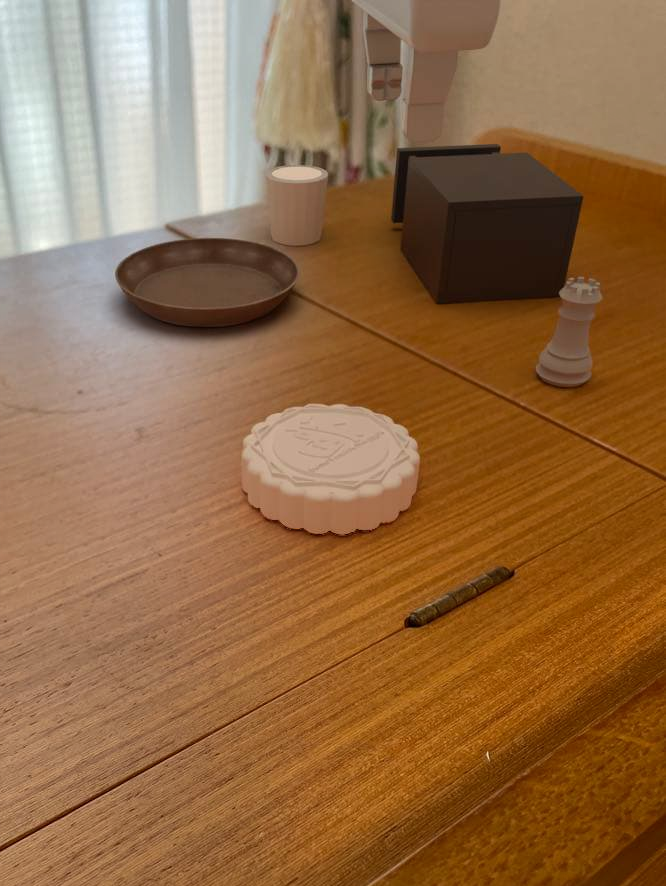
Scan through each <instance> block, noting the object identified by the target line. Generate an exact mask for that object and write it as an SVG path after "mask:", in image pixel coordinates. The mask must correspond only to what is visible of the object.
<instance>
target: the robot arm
mask: <svg viewBox="0 0 666 886" xmlns="http://www.w3.org/2000/svg"><path fill="white" fill-rule="evenodd" d="M350 1H351V2H352V3H353V4H354V5H357V6H358V7H359V8H360V9H362V10H363V11H362V12H363V14H362V15H363V16H362V30H363V37H364V46H365V55H366V63H367V77H366V90H367V94H369V95H370V97H371V98H372V99H373V100H375V101H377V102H383V101H395V100H397V99H398V98H399V97H400V96H401V94H402V81H403V71H404V70H403V69H404V66H403V65H402V64H401V47H402V45H401V44H402V43H401V42H404V43H405V44H407V45H406V46H407V47H406V66H408V72H407V81H406V91H405V98H402V100H401V120H400V129H401V132H402V134H403V135H404V137H405V138H406V139H407V141H410V142H411V143H413V144H414V143H428V142H430V143H431V142H435V141H437V140H438V139H439V138H440V137H441V134H442V132H443V121H444V111H445V103H446V100H447V98H448V94H449V92H450V88H451V86H452V82H453V80H454V76H455V73H456V71H457V65H458V55H459V52H462V51H472V50H482V49H484V48H486V47H487V46H488V45H489V44H490V42H491V41H492V37H493V35H494V32H495V30H496V27H497V24H498V18H499V15H500V8H501V0H350Z"/></svg>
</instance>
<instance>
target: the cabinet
mask: <svg viewBox="0 0 666 886" xmlns="http://www.w3.org/2000/svg"><path fill="white" fill-rule="evenodd" d="M584 197H585V195H584V194H582V193H581V192H579V190H577V189H575V188H574V187H573V186H571V185H570V184H569V183H568V182H566V181H565V180H564V179H562V178H561V177H560V176H558V175H557V174H556V173H554V172H553V171H552V170H550V168H548V167H546V166H545V165H544V164H543V163H541V162H540V161H539V160H537V159H536V158H535V157H533V156H532V155H531V154H530V153H528V152H510V153H500V154H484V155H460V156H437V157H414V158H409V160H408V172H407V183H406V194H405V205H404V216H403V223H402V228H401V239H400V249H399V250H400V252H401V253H402V255H403V256H404V258H405V259H406V260H407V262H408V263H409V265H410V266H411V268H412V269H413V271H414V272H415V275H416V276H417V277H418V278H419V280H420V282H421V283H422V285H423V286H424V287H425V289H426V290H427V292H428V294H429V295H430V296H431V298H432V299H433V301H434V302H435V303H436V305H441V304H456V303H457V304H459V303H476V302H493V301H494V302H495V301H510V300H527V299H544V298H561V297H560V295H559V292H560V290H561V289H563V288H564V287H565V286H566V280H567V275H568V270H569V267H570V266H569V265H570V261H571V257H572V252H573V247H574V242H575V238H576V234H577V228H578V224H579V220H580V214H581V210H582V205H583V203H584V202H583V201H584Z"/></svg>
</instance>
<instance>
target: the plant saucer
mask: <svg viewBox="0 0 666 886" xmlns="http://www.w3.org/2000/svg"><path fill="white" fill-rule="evenodd" d="M114 277H115V281H116V283H117V284H118V286H119V287H120V289H121V290H122V292H123V293H124V294H125V295H126V297H127V298H128V299H129V300H130V301H131V302H132V303H133V304H134V305H136V306H137V307H138V309H140V311H142V312H143V313H145V314H147V315H148V316H150V317H152V318H153V319H157V320H159V321H162V322H166V323H168V324H172V325H178V326H183V327H184V326H185V327H196V328H215V327H217V328H219V327H227V326H235V325H240V324H244V323H247V322H251V321H254V320H256V319H259V318H261V317H264V316H265V315H267V314H269V313H271V312H272V311H273V310H274V309H275V308H277V307H278V306H279V305H280V304H281V303H282V302H283V301H284V300H285V298H286V297H287V296H288V295H289V294H290V293H291V291H292V290H293V288H294V287H295V286H296V283H297V282H298V280H299V277H300V268H299V265H298V263H297V262H296V261H295V260H294V259H293V258H292V257H291V256H290V255H288V254H287V253H285V252H284V251H281V250H279V249H277V248H275V247H273V246H269V245H266V244H263V243H260V242H259V243H258V242H254V241H249V240H243V239H236V238H224V237H195V238H194V237H193V238H185V239H176V240H171V241H165V242H160V243H156V244H154V245H153V244H152V245H150V246H146V247H143V248H142V249H139V250H137V251H134V252H133V253H131V254H129V255H127V256H126V257H125V258H123V259H122V260H121V261H120V262H119V263H118V265H117V267H116V269H115V273H114Z"/></svg>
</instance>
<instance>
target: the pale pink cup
mask: <svg viewBox="0 0 666 886" xmlns="http://www.w3.org/2000/svg"><path fill="white" fill-rule="evenodd" d="M328 180H329V173H328V170H326V169H323V168H321V167H318V166H314V165H307V164H306V165H305V164H287V165H281V166H276V167H273V168H270V169H268V170H267V171H266V172H265V184H266V193H267V202H268V203H267V205H268V214H269V215H268V216H269V225H270V237H271V240H272V241H274V242H275V243H277V244H280V245H284V246H291V247H292V246H293V247H296V246H297V247H301V246H308V245H313V244H315V243H317V242H319V241H320V239H321V237H322V232H323V231H322V230H323V224H324V223H323V222H324V216H325V215H324V214H325V206H326V199H327V190H328V183H329V181H328Z"/></svg>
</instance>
